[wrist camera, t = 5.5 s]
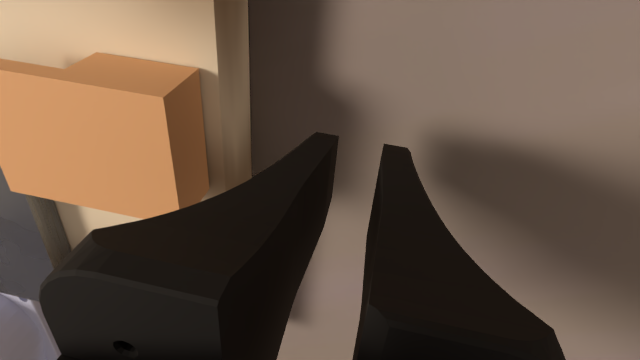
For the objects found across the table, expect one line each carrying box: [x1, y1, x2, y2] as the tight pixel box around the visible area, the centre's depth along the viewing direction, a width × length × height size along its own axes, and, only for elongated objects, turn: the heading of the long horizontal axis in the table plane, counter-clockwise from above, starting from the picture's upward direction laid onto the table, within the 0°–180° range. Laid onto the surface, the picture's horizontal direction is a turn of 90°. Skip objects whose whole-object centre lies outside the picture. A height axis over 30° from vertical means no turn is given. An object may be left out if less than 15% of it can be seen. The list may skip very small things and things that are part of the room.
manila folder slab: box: [0, 52, 210, 219], centre depth 13 cm, size 4×6×2 cm
